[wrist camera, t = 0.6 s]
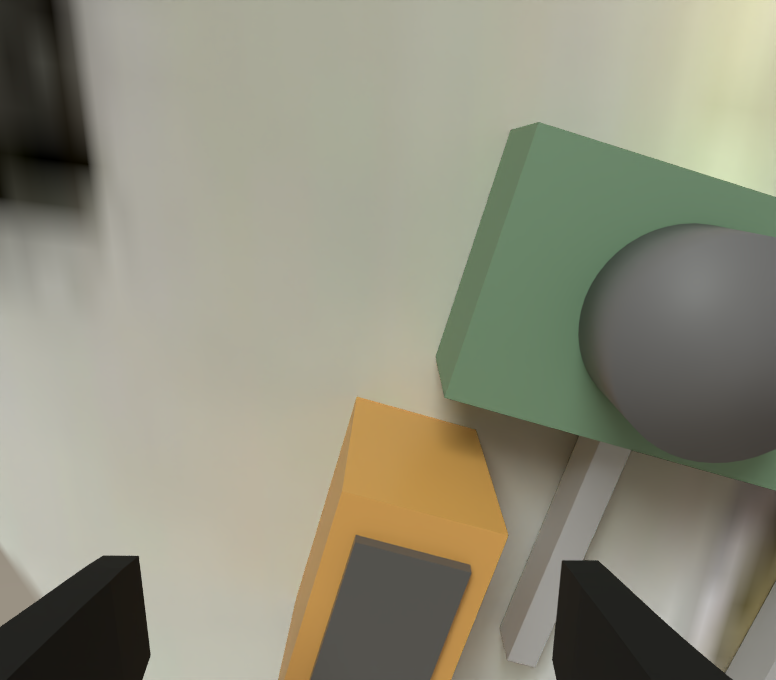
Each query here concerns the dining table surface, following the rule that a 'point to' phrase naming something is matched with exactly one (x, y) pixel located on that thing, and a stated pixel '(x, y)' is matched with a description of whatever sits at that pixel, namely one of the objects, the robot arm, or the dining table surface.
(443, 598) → the orange box with panel
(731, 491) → the dining table surface
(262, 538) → the dining table surface
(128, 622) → the robot arm
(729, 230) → the green block with prongs
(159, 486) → the dining table surface
